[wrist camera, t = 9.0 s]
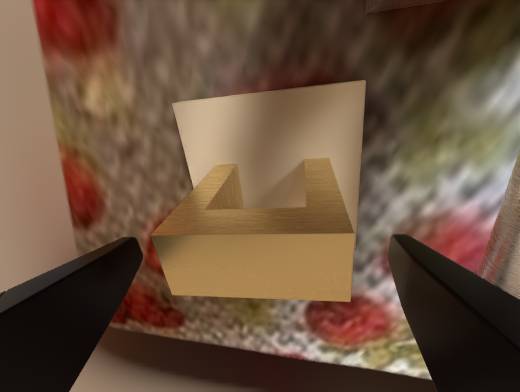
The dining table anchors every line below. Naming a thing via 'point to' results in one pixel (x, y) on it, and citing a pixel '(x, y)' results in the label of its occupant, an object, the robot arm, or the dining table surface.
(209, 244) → the tan u-shaped bracket
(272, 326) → the dining table surface
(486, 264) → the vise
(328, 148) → the birch pad
